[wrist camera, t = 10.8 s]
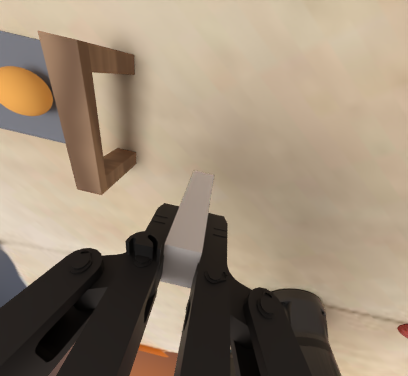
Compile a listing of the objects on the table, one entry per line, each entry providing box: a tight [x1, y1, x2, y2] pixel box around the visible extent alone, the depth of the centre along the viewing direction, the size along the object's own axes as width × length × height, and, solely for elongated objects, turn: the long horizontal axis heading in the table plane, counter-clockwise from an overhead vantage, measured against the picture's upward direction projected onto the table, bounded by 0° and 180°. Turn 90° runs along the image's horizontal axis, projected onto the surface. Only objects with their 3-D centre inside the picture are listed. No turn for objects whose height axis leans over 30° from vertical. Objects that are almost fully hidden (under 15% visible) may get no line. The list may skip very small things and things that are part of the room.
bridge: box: [38, 31, 136, 195], centre depth 21 cm, size 3×14×9 cm, turn 169°
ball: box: [0, 66, 53, 116], centre depth 22 cm, size 6×6×6 cm
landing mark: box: [0, 31, 66, 143], centre depth 24 cm, size 13×13×1 cm
